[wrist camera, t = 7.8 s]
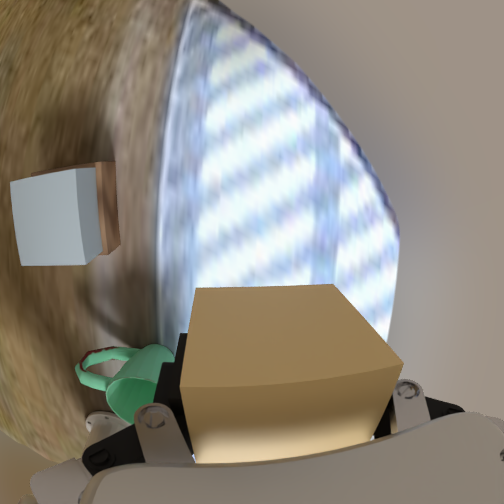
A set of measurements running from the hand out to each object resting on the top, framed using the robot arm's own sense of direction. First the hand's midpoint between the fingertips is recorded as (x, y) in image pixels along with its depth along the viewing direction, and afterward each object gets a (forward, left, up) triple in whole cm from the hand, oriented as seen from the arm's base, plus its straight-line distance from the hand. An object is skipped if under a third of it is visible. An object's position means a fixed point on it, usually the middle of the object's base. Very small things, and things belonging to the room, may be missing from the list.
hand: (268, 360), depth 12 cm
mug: (-17, +14, -23) cm, 31 cm away
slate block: (+4, +20, -18) cm, 27 cm away
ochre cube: (0, 0, -1) cm, 1 cm away
